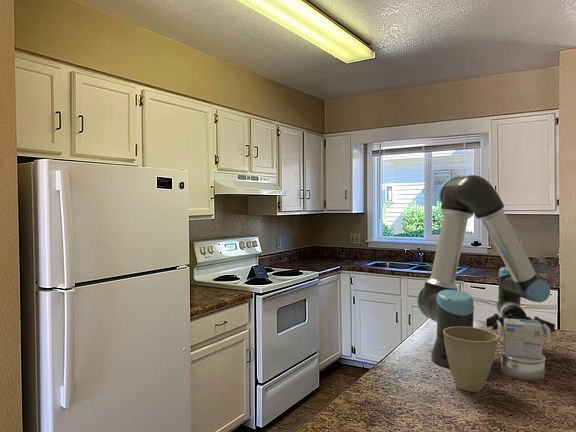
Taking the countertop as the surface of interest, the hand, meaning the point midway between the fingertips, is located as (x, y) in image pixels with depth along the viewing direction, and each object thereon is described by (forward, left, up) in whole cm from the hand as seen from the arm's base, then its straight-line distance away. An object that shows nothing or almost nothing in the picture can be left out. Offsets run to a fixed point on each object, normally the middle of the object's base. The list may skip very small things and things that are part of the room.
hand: (524, 331), depth 139 cm
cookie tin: (+1, +3, -14) cm, 15 cm away
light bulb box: (+1, +3, -9) cm, 9 cm away
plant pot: (-20, -7, -14) cm, 26 cm away
